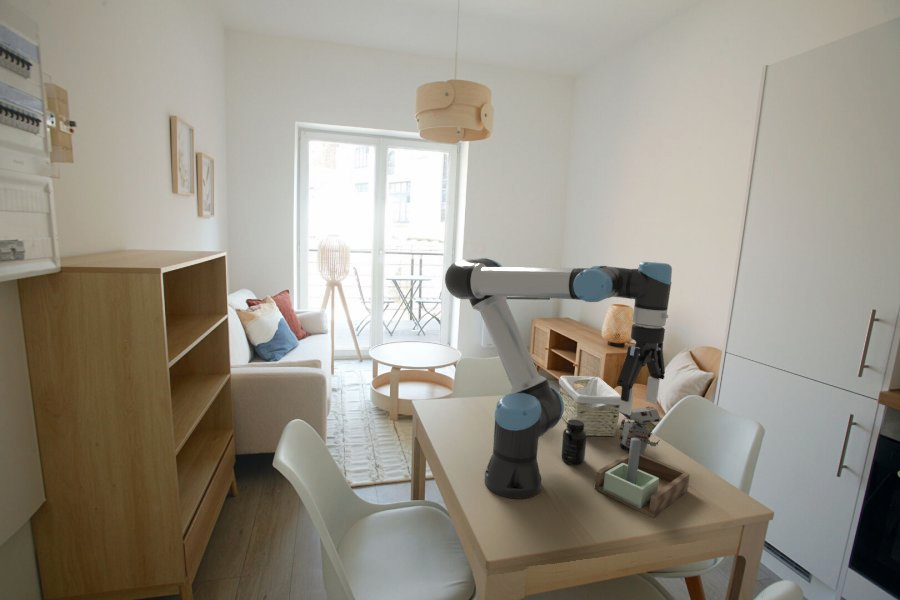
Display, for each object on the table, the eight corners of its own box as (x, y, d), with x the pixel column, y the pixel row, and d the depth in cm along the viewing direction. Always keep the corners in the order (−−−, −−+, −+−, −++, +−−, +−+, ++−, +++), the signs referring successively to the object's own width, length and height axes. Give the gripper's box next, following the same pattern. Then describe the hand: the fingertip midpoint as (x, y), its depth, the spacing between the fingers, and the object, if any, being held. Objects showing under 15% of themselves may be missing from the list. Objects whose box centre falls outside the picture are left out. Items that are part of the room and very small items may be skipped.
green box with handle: (640, 508, 113) (646, 452, 111) (603, 490, 120) (608, 437, 118) (656, 496, 119) (663, 442, 117) (620, 479, 126) (626, 428, 124)
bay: (653, 518, 111) (655, 498, 111) (594, 488, 123) (596, 471, 122) (687, 491, 124) (689, 473, 124) (631, 467, 136) (633, 451, 136)
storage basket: (554, 410, 179) (558, 374, 177) (596, 412, 179) (599, 375, 177) (573, 437, 155) (577, 395, 153) (620, 439, 156) (625, 397, 154)
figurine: (662, 462, 141) (668, 415, 138) (624, 459, 141) (629, 413, 139) (650, 448, 150) (655, 404, 147) (614, 446, 150) (619, 402, 148)
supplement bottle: (565, 452, 143) (569, 415, 142) (587, 459, 140) (591, 421, 138) (557, 460, 138) (560, 422, 136) (579, 468, 134) (583, 429, 132)
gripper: (638, 333, 102) (627, 423, 105) (685, 323, 119) (674, 402, 122) (608, 326, 108) (598, 413, 111) (656, 318, 124) (647, 393, 127)
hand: (638, 407), depth 116 cm, fingers open, 13 cm apart
